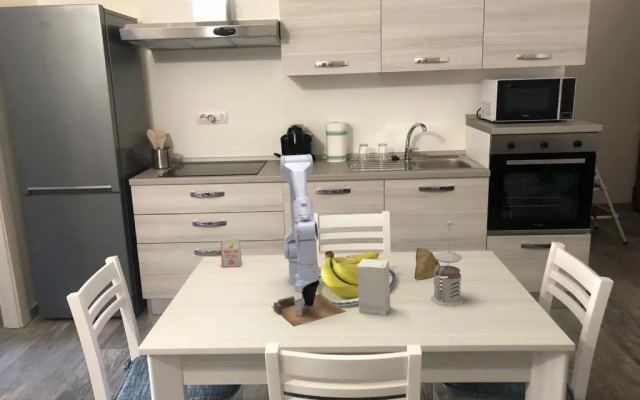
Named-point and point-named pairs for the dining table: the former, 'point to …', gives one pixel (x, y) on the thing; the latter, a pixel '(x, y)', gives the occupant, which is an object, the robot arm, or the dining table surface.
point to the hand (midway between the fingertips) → (309, 305)
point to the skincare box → (373, 286)
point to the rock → (425, 264)
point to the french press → (447, 279)
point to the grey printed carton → (230, 253)
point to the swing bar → (300, 307)
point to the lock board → (312, 312)
